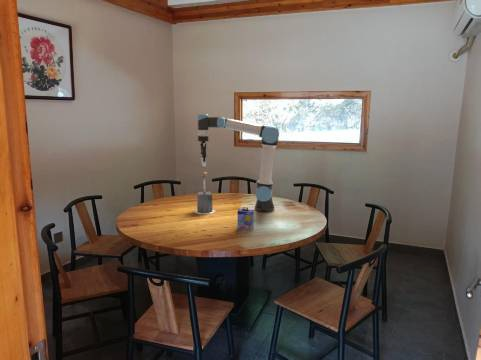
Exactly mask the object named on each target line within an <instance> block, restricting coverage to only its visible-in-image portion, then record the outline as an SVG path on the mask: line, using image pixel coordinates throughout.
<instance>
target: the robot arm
mask: <svg viewBox="0 0 481 360" xmlns="http://www.w3.org/2000/svg"><path fill="white" fill-rule="evenodd" d="M209 128H214V129H215V128H219V129H221V128H223V129H227V130H228V129H229V130H231V131H232V130H233V131H237V132H241V133H246V134H250V135H254V136H258V137H259V138H260V139H261V142H260V144H261V146H262V152H261V153H262V154H261V163H260V171H259V179H258V180H257V181H256V187H255V192H254V193H255V198H256V202H255V205H254V211H257V212H262V213H267V212H273V211H275V205H274V202H273V201H274V200H273V188H274V187H273V186H274V182H273V180H272V176H273V170H274V169H273V168H274V162H275V152H276V148H277V147H278V145H279V137H280V132H279V131H280V130H279V129H278V127H277V126H276V125H272V124H269V125H268V124H256V123H253V122H252V123H251V122H246V121H242V120H236V119H232V118H228V117H224V116H209V114H207V113H200V114H197V131H196V132H197V135H198V136H197V141H198V142H200V164H202V166H201V167H207V143H206V142H209V135H210V134H209Z"/></svg>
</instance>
